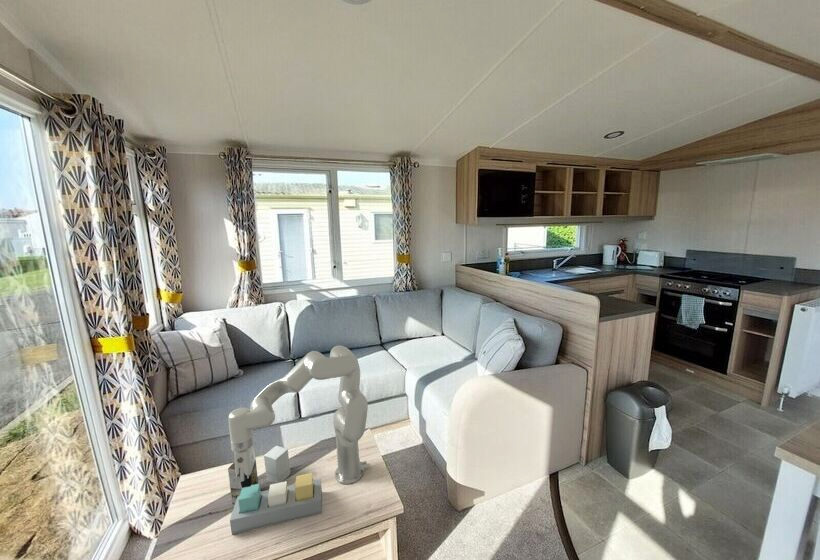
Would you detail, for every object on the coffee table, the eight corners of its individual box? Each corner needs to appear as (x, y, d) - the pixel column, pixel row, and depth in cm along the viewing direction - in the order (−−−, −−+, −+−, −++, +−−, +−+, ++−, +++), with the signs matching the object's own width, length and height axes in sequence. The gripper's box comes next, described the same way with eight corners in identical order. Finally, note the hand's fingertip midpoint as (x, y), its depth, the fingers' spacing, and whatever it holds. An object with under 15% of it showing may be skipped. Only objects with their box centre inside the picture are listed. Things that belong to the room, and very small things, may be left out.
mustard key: (313, 487, 134) (312, 472, 133) (313, 499, 128) (311, 484, 127) (297, 491, 133) (296, 476, 131) (296, 503, 127) (295, 487, 126)
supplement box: (291, 473, 149) (288, 449, 146) (278, 485, 142) (275, 459, 140) (279, 469, 152) (276, 444, 149) (266, 480, 145) (263, 455, 143)
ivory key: (288, 496, 132) (286, 481, 131) (286, 509, 126) (285, 493, 125) (272, 499, 130) (270, 484, 129) (269, 512, 125) (267, 497, 123)
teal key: (261, 498, 129) (259, 483, 128) (258, 512, 123) (256, 496, 122) (244, 502, 128) (242, 487, 127) (240, 516, 122) (238, 499, 121)
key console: (321, 491, 138) (320, 478, 137) (321, 513, 127) (320, 500, 126) (239, 509, 130) (237, 496, 129) (231, 534, 120) (229, 520, 119)
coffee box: (245, 505, 132) (240, 470, 129) (231, 503, 133) (226, 468, 131) (259, 487, 141) (255, 454, 138) (246, 485, 142) (242, 453, 139)
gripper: (249, 453, 114) (253, 499, 117) (257, 428, 129) (261, 469, 132) (225, 457, 113) (230, 503, 116) (236, 431, 127) (241, 473, 130)
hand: (246, 485), depth 124 cm, fingers closed
